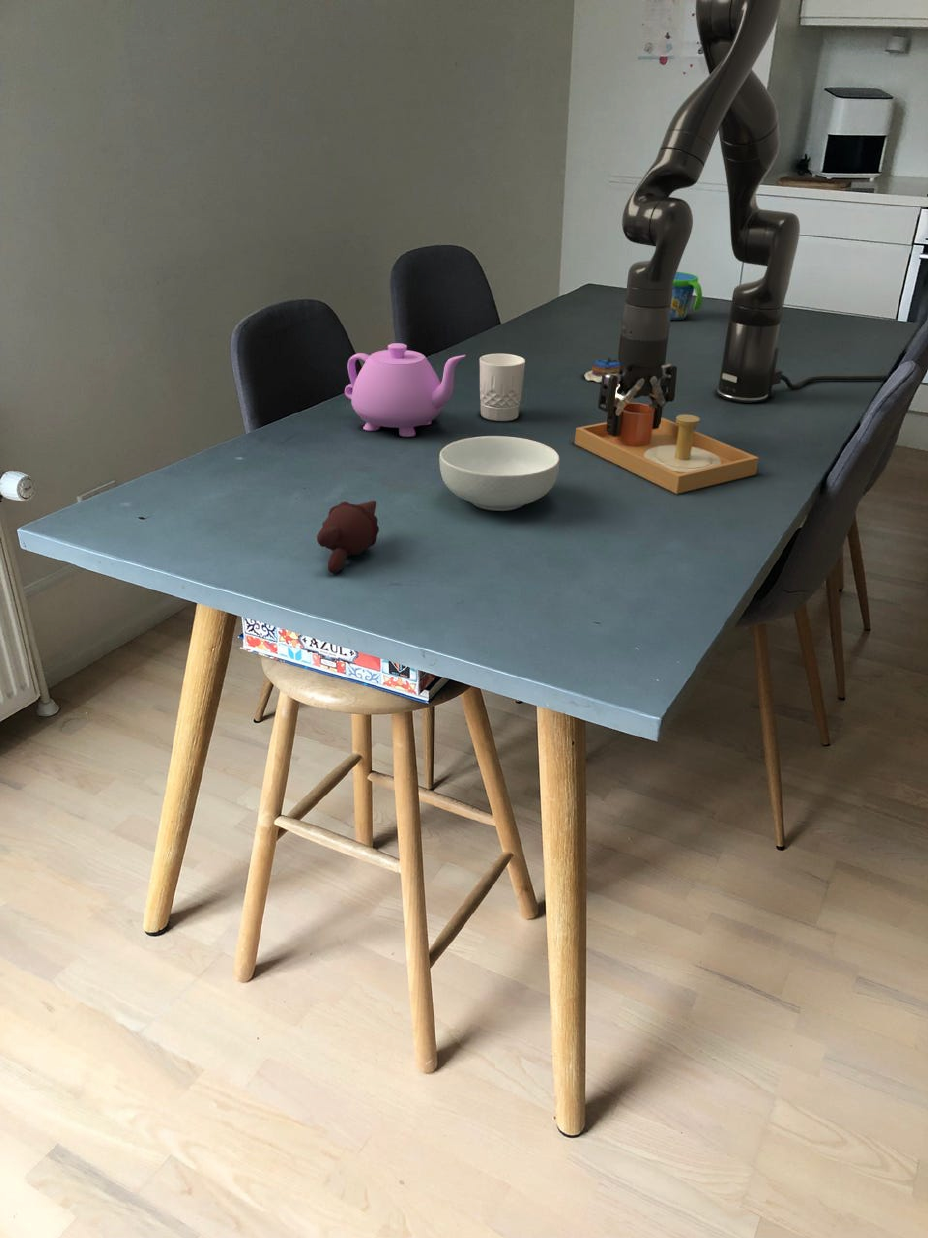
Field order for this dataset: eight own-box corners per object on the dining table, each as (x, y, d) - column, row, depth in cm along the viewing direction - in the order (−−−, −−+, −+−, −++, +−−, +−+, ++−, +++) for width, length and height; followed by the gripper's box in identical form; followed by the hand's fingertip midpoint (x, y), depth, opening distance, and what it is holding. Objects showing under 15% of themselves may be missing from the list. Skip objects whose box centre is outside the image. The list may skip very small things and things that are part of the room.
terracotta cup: (634, 432, 170) (637, 400, 167) (658, 442, 165) (662, 410, 163) (606, 437, 167) (610, 405, 164) (630, 448, 163) (634, 415, 160)
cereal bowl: (568, 488, 149) (572, 443, 146) (539, 532, 135) (542, 482, 132) (460, 472, 154) (462, 427, 150) (421, 512, 140) (421, 464, 136)
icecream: (342, 480, 133) (289, 532, 121) (392, 475, 130) (342, 528, 118) (357, 526, 136) (307, 582, 124) (406, 523, 133) (359, 579, 121)
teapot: (479, 422, 175) (482, 342, 168) (444, 449, 162) (446, 365, 155) (366, 404, 182) (364, 327, 175) (324, 429, 169) (320, 347, 162)
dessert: (625, 369, 204) (625, 350, 198) (624, 395, 201) (624, 376, 195) (585, 369, 205) (584, 350, 200) (583, 396, 202) (583, 377, 197)
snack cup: (709, 321, 246) (715, 278, 241) (678, 326, 241) (684, 282, 236) (663, 309, 257) (668, 267, 252) (633, 313, 252) (638, 271, 247)
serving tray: (650, 428, 174) (652, 412, 173) (755, 474, 156) (758, 457, 155) (574, 443, 166) (575, 427, 165) (676, 494, 148) (679, 476, 147)
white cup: (518, 424, 174) (521, 367, 169) (473, 420, 176) (475, 363, 171) (524, 410, 181) (528, 355, 176) (482, 406, 182) (484, 351, 177)
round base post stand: (683, 445, 165) (689, 401, 161) (736, 468, 156) (744, 423, 152) (627, 457, 159) (632, 412, 156) (679, 482, 150) (686, 435, 147)
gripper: (625, 343, 152) (614, 445, 160) (694, 332, 158) (681, 431, 166) (594, 332, 157) (585, 431, 165) (662, 322, 164) (650, 418, 172)
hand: (633, 431), depth 166 cm, fingers open, 8 cm apart
